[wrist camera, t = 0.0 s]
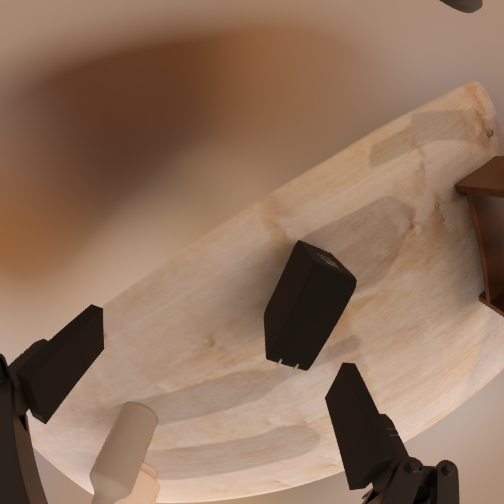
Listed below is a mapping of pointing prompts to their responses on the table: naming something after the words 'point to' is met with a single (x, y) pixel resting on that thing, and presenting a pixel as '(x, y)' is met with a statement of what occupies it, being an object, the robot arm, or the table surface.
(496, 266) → the shelf
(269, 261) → the table surface
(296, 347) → the electronic device
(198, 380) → the table surface
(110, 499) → the bottle
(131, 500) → the vase
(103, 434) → the table surface
